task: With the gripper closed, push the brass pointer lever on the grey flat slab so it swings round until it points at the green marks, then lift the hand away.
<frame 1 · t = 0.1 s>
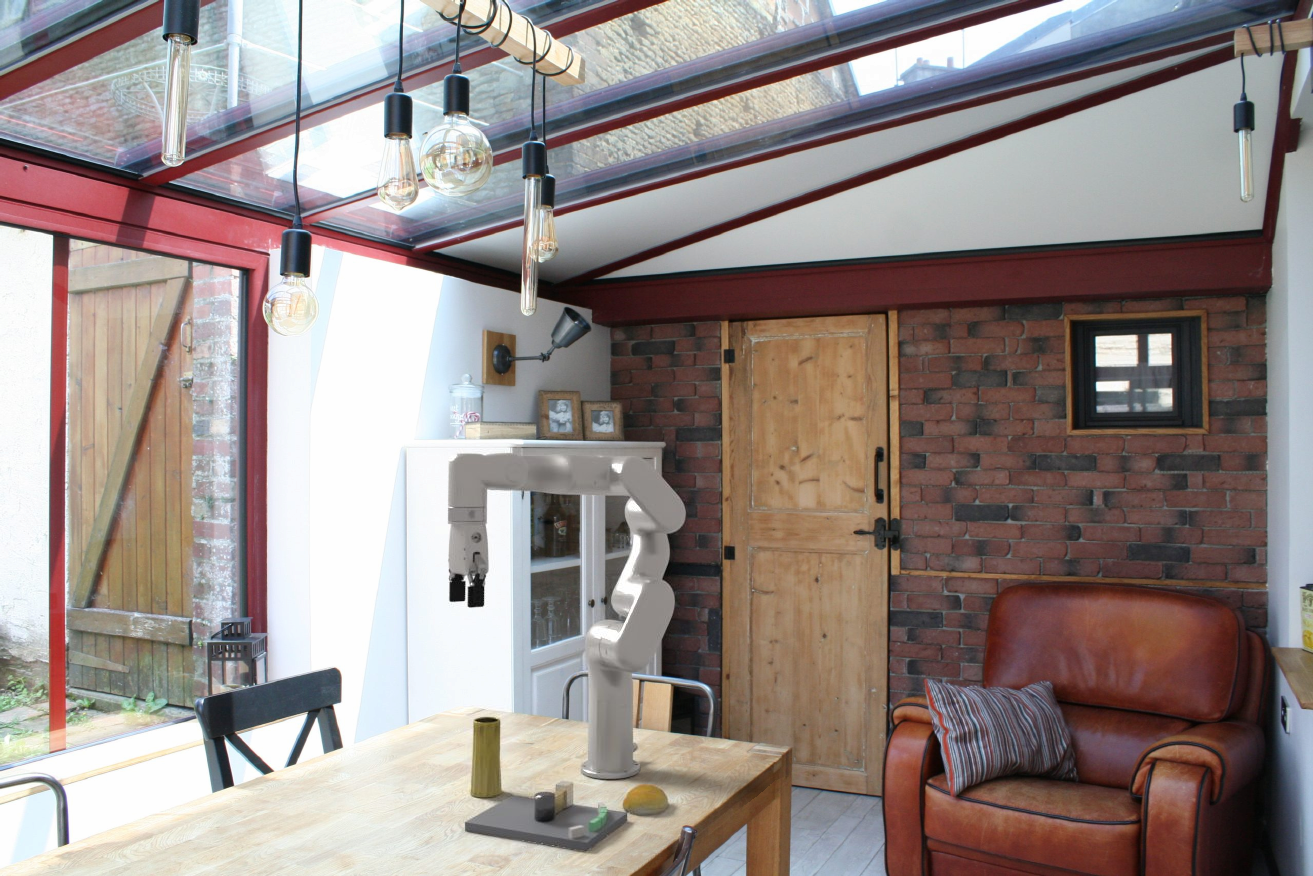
hand: (466, 604, 192), 37 cm above the table, tool pointing down, fingers open, 9 cm apart
grey flat slab: (544, 827, 174), on the table
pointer: (553, 800, 177), point 4 cm above the table, hinge at 0.0°
vase: (485, 794, 193), on the table
bread roll: (645, 809, 185), on the table
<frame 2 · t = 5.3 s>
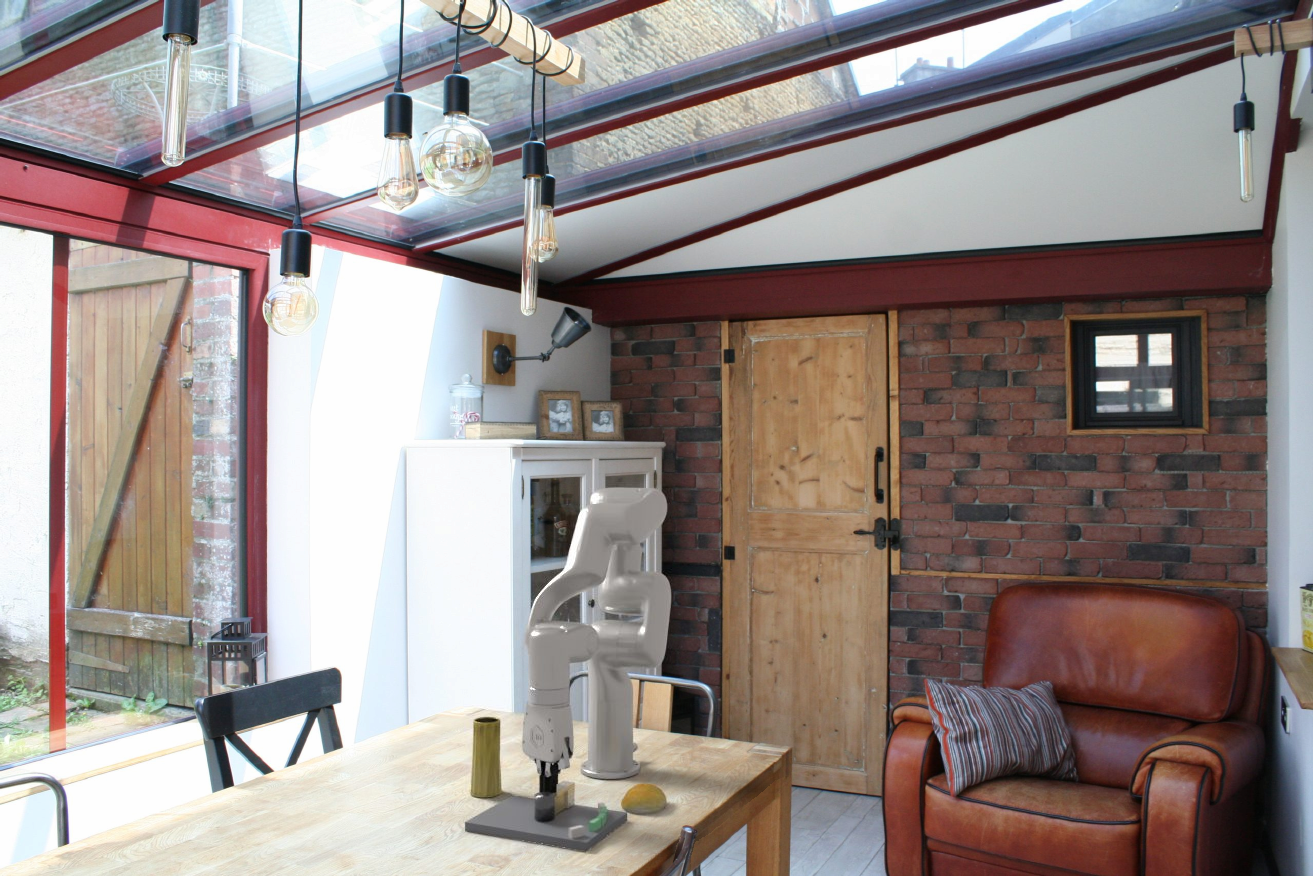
hand: (548, 795, 181), 3 cm above the table, tool pointing down, fingers closed
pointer: (554, 800, 177), point 4 cm above the table, hinge at 1.9°, touching gripper
everything else where it was.
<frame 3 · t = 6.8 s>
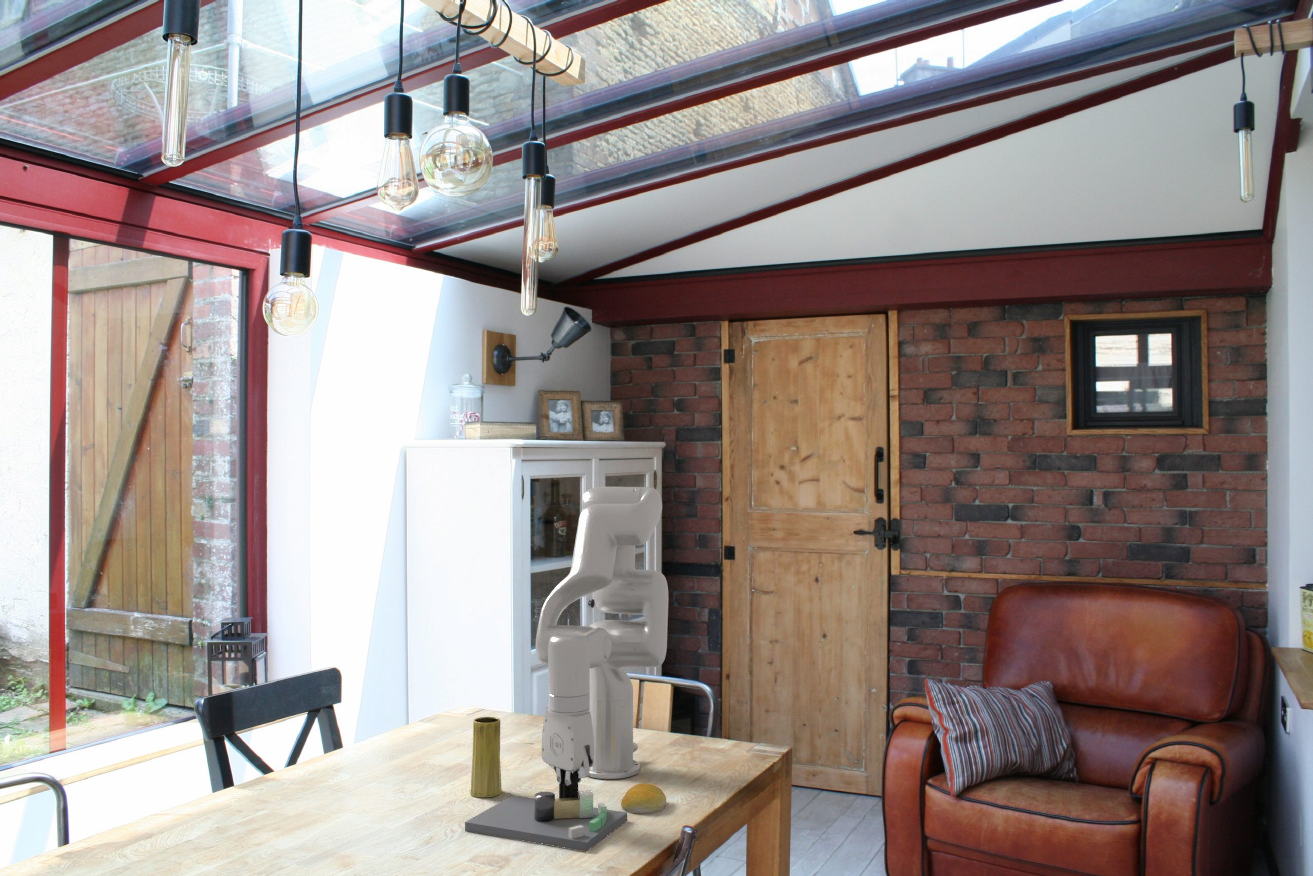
hand: (568, 804, 177), 3 cm above the table, tool pointing down, fingers closed
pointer: (563, 805, 175), point 4 cm above the table, hinge at 56.4°, touching gripper
everything else where it was.
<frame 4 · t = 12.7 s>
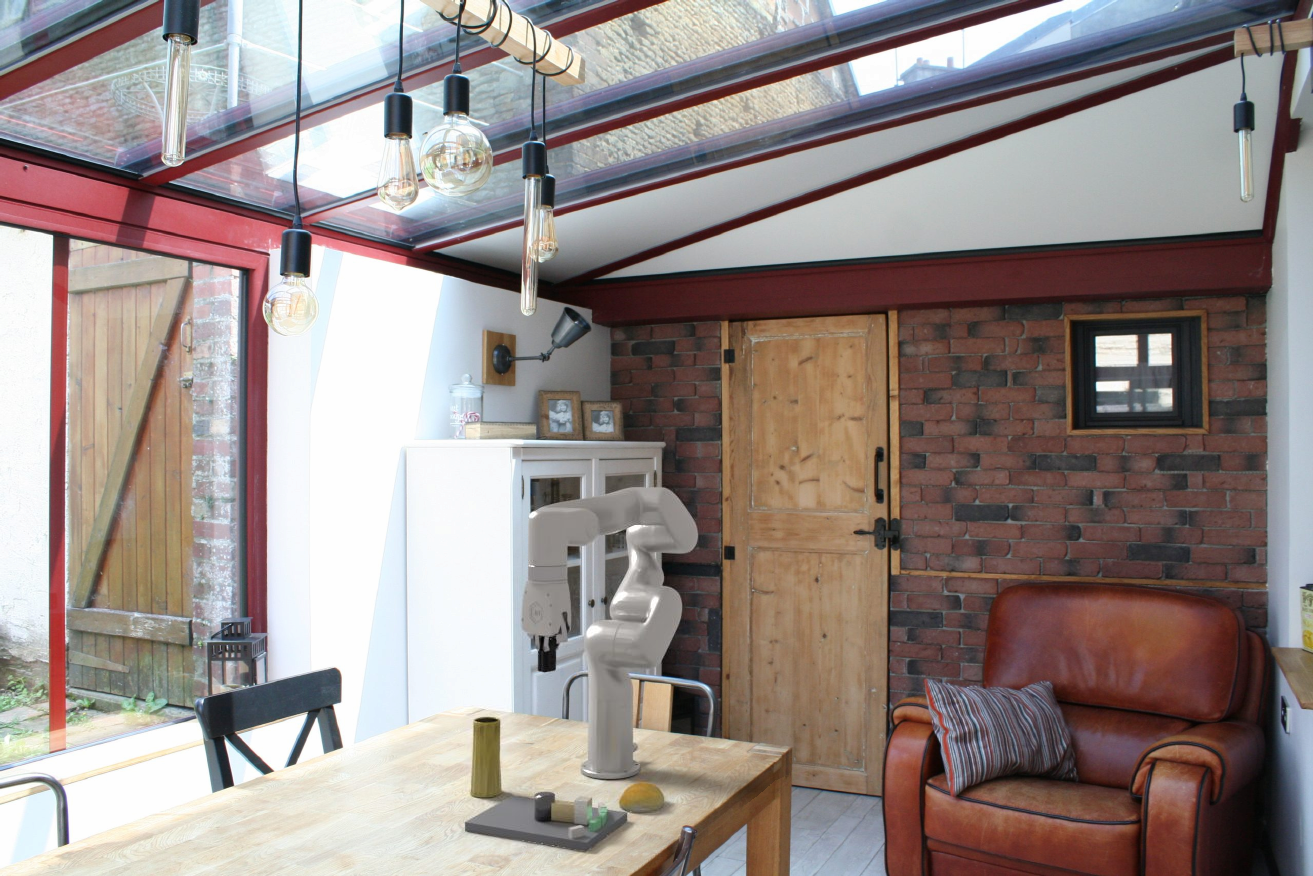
hand: (546, 670, 187), 25 cm above the table, tool pointing down, fingers closed
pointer: (562, 808, 173), point 4 cm above the table, hinge at 83.2°
at the end: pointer at +83° (first picture: +0°) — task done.
